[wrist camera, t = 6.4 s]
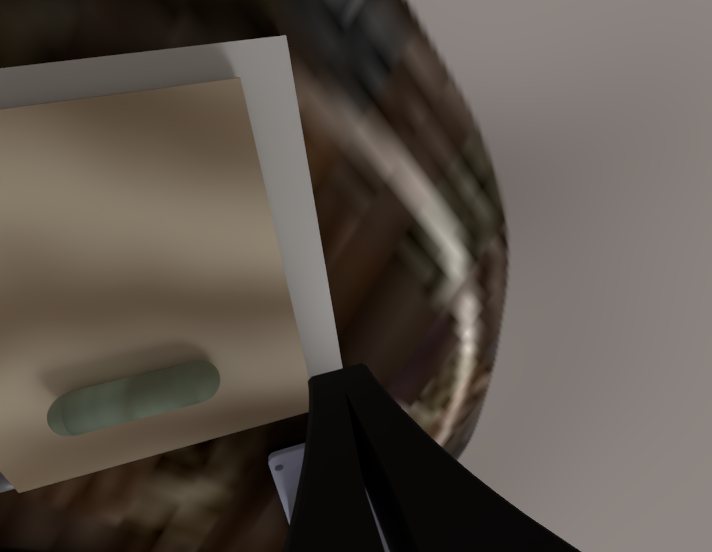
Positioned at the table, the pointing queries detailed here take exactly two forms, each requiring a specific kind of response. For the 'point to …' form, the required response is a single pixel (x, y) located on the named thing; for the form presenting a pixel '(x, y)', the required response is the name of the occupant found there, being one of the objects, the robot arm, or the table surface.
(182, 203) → the board
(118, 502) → the table surface
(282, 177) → the light grey square plate
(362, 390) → the robot arm
